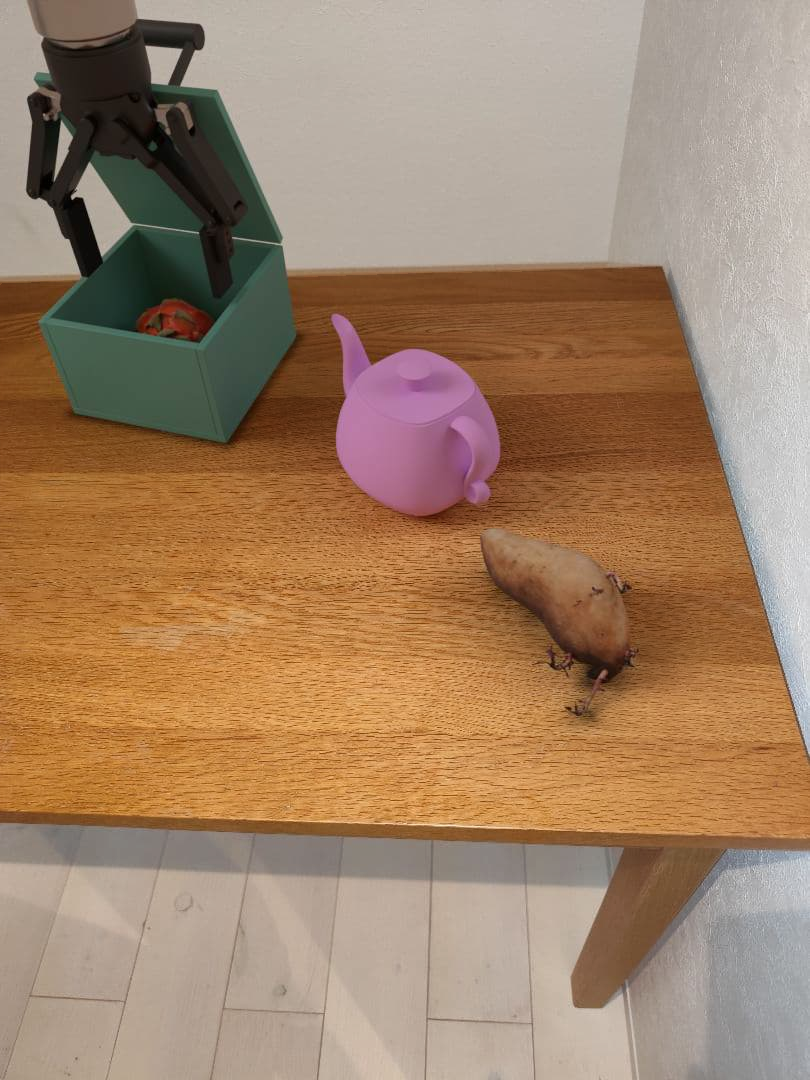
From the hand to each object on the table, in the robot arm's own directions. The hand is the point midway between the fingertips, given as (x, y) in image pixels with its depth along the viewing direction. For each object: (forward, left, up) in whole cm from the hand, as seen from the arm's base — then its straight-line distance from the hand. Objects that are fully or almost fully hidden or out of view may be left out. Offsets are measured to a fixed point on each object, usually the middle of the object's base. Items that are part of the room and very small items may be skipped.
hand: (156, 280), depth 83 cm
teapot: (+26, -6, -12) cm, 29 cm away
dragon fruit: (0, 0, -11) cm, 11 cm away
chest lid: (0, +6, +8) cm, 10 cm away
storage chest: (0, +1, -12) cm, 12 cm away
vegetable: (+41, -21, -12) cm, 48 cm away
